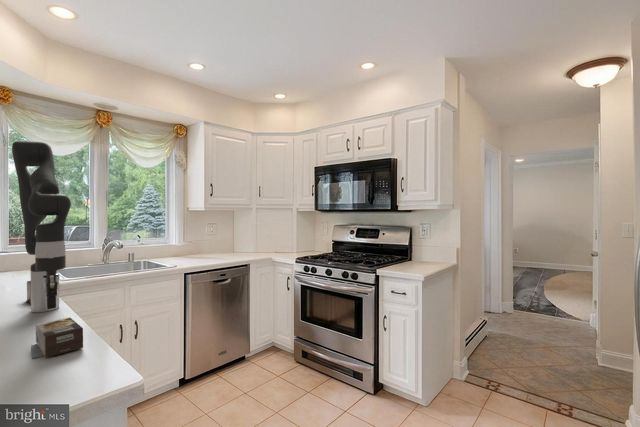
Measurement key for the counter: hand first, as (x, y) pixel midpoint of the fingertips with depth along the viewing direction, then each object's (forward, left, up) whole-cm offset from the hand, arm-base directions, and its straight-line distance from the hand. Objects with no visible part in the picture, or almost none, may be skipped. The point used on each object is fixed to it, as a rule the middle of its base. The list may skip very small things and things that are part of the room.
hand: (51, 308), depth 104 cm
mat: (+6, 0, -11) cm, 13 cm away
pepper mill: (-65, 0, -11) cm, 66 cm away
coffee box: (-1, 0, -7) cm, 8 cm away
